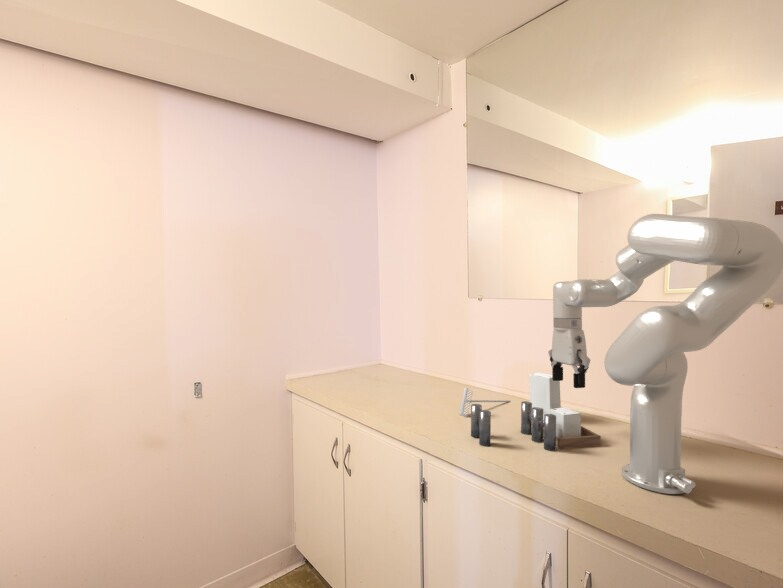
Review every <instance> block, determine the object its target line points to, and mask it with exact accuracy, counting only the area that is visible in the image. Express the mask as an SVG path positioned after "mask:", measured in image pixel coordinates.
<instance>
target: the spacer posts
mask: <svg viewBox="0 0 783 588" xmlns="http://www.w3.org/2000/svg"><path fill="white" fill-rule="evenodd" d="M482 407H483V406H482V405H481V404H479V403H472V404H470V437H471V438H474V439H479V441H478V444H479V445H480V446H482V447H490V446H491V429H492V426H491V425H492V424H491V422H492V420H491V417H492V416H491V415H492V412H491V411H490V410H485V409H483V408H482ZM520 407H521V408H520V410H521V411H520V418H521V419H520V433H522V434H523V435H531V441H532V442H535V443H543V449H544V450H546V451H549V452H555V451H556V450H557V447H556V415H553V414H544V421H543V409H542V408H539V407H533V408H532V403H531V402H530V401H527V400H526V401H524V400H523V401H521V406H520ZM543 423H544V438H543ZM489 445H490V446H489Z"/></svg>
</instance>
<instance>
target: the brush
mask: <svg viewBox="0 0 783 588" xmlns="http://www.w3.org/2000/svg"><path fill="white" fill-rule="evenodd" d="M461 397H462V398H461V403H460V407H459V411H458V415H459V416H462V417H463V418H466V417H468V416H469V412H470V407H471V403H510V402H511V400H509V399H507V400H505V399H504V400H503V399H502V400H500V399H498V400H497V399H495V400H494V399H493V400H491V399H490V400H480V399H472V398H473V391H472V390H470V389H469V388H468V387H464V388H463V393H462V396H461Z"/></svg>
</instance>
